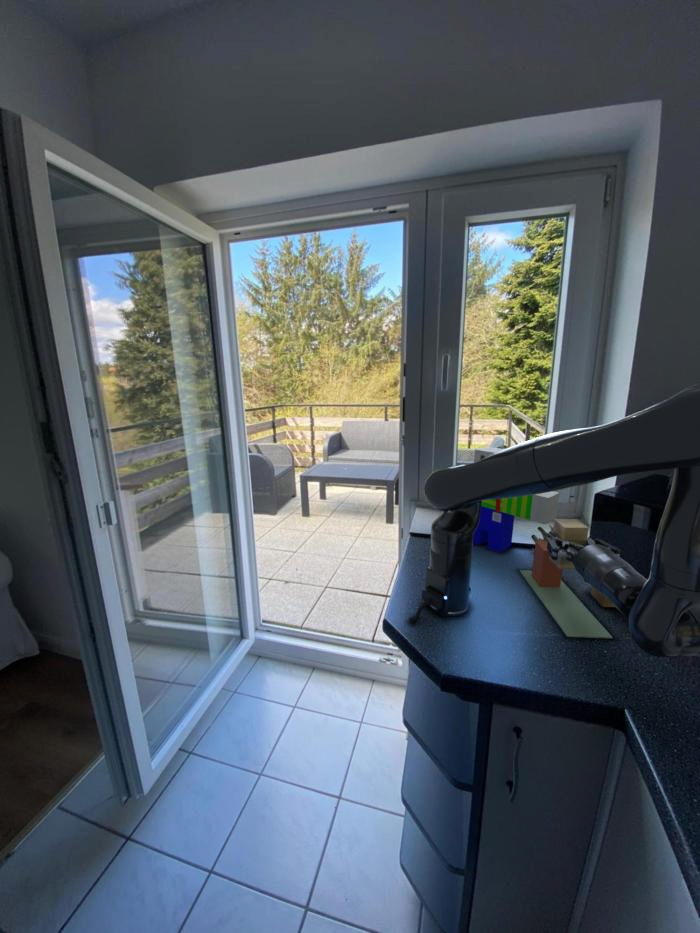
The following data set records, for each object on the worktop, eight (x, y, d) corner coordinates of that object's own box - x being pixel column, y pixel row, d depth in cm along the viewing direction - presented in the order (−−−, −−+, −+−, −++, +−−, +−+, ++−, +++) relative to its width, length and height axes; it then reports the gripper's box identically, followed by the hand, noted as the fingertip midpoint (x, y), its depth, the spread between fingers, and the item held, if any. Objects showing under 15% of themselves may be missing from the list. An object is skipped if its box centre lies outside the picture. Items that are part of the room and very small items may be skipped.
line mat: (612, 638, 76) (612, 637, 76) (566, 636, 76) (566, 635, 76) (553, 572, 101) (553, 571, 101) (519, 571, 101) (519, 570, 101)
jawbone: (596, 553, 100) (576, 519, 102) (541, 568, 110) (524, 537, 111) (600, 543, 107) (581, 511, 109) (548, 557, 117) (532, 528, 118)
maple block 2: (625, 608, 85) (633, 569, 83) (602, 607, 86) (609, 568, 83) (611, 595, 90) (618, 558, 88) (590, 595, 90) (596, 557, 88)
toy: (438, 529, 128) (443, 444, 121) (450, 524, 132) (455, 441, 125) (539, 568, 103) (553, 462, 95) (550, 560, 107) (564, 458, 100)
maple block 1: (582, 569, 83) (588, 528, 81) (559, 568, 84) (564, 527, 81) (571, 558, 88) (576, 519, 86) (549, 558, 89) (554, 519, 86)
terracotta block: (560, 587, 93) (565, 550, 91) (539, 586, 93) (544, 550, 91) (550, 576, 98) (555, 541, 96) (531, 576, 98) (535, 541, 96)
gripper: (649, 554, 69) (597, 520, 86) (569, 553, 70) (532, 519, 87) (642, 590, 71) (592, 550, 88) (564, 588, 72) (529, 548, 89)
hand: (562, 535), depth 87 cm, fingers closed on maple block 1, 5 cm apart
